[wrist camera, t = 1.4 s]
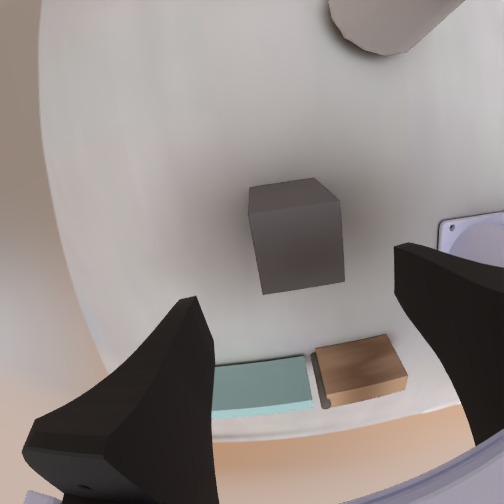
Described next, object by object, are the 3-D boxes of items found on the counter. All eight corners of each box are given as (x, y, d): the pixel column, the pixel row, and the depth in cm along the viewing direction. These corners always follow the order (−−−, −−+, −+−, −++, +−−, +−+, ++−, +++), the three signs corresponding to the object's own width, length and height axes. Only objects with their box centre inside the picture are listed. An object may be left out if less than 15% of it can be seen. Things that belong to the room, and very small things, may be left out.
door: (304, 355, 24) (312, 399, 19) (305, 371, 24) (313, 414, 20) (188, 369, 24) (178, 411, 20) (194, 383, 25) (185, 425, 20)
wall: (386, 334, 23) (410, 379, 18) (384, 348, 24) (406, 393, 19) (149, 366, 25) (133, 412, 20) (156, 378, 25) (141, 425, 20)
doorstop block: (314, 177, 19) (339, 200, 13) (320, 238, 20) (344, 281, 15) (249, 187, 19) (248, 214, 13) (260, 247, 20) (262, 294, 15)
